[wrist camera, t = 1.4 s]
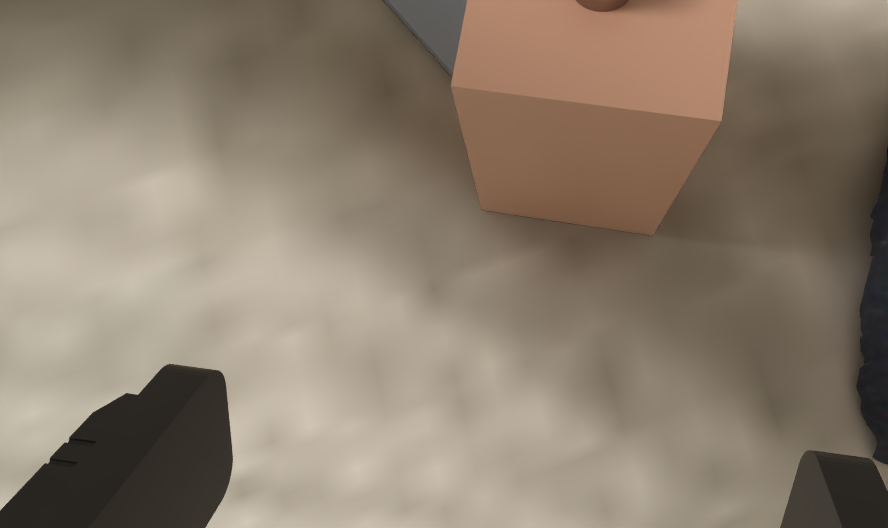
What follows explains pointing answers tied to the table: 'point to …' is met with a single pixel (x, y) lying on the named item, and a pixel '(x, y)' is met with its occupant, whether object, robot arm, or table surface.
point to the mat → (434, 25)
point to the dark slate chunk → (876, 329)
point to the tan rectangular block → (590, 104)
